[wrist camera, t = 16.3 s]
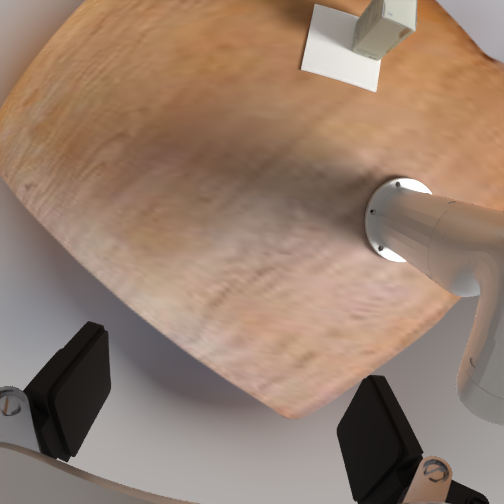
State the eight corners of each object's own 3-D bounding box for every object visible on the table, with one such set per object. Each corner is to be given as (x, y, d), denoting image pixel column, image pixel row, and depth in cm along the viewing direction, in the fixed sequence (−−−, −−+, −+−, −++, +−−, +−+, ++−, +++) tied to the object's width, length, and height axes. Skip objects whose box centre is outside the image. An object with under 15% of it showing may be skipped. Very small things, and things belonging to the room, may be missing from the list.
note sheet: (384, 27, 33) (384, 26, 33) (375, 92, 37) (375, 92, 36) (314, 4, 33) (314, 3, 32) (300, 69, 36) (301, 69, 36)
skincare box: (378, 62, 35) (416, 34, 23) (350, 51, 35) (381, 18, 23) (383, 29, 33) (418, -4, 21) (356, 18, 33) (385, -20, 21)
